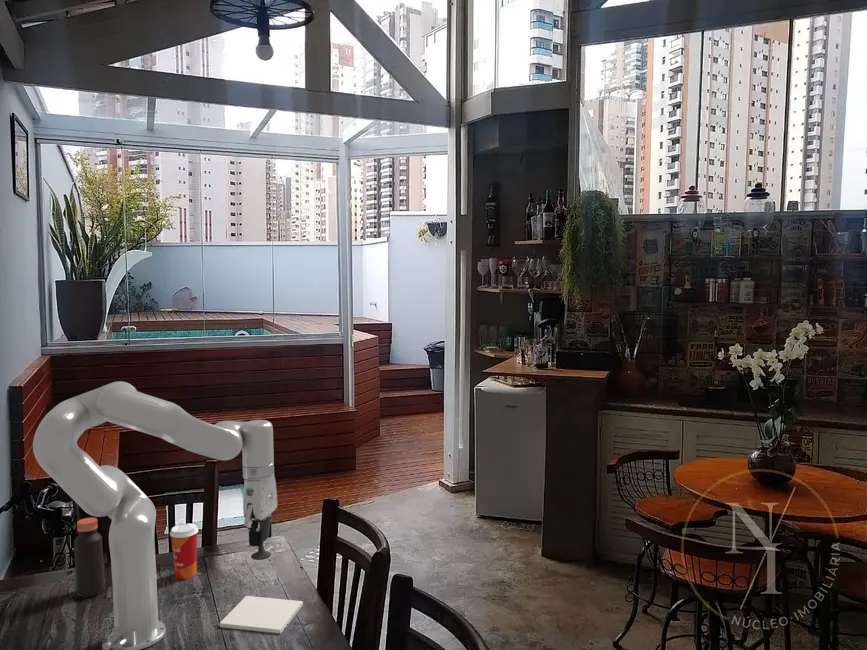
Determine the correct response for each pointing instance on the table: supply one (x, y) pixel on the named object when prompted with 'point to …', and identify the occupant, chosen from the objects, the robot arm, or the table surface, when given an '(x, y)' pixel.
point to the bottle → (89, 558)
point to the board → (262, 614)
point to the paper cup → (184, 550)
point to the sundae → (263, 538)
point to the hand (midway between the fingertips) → (260, 540)
